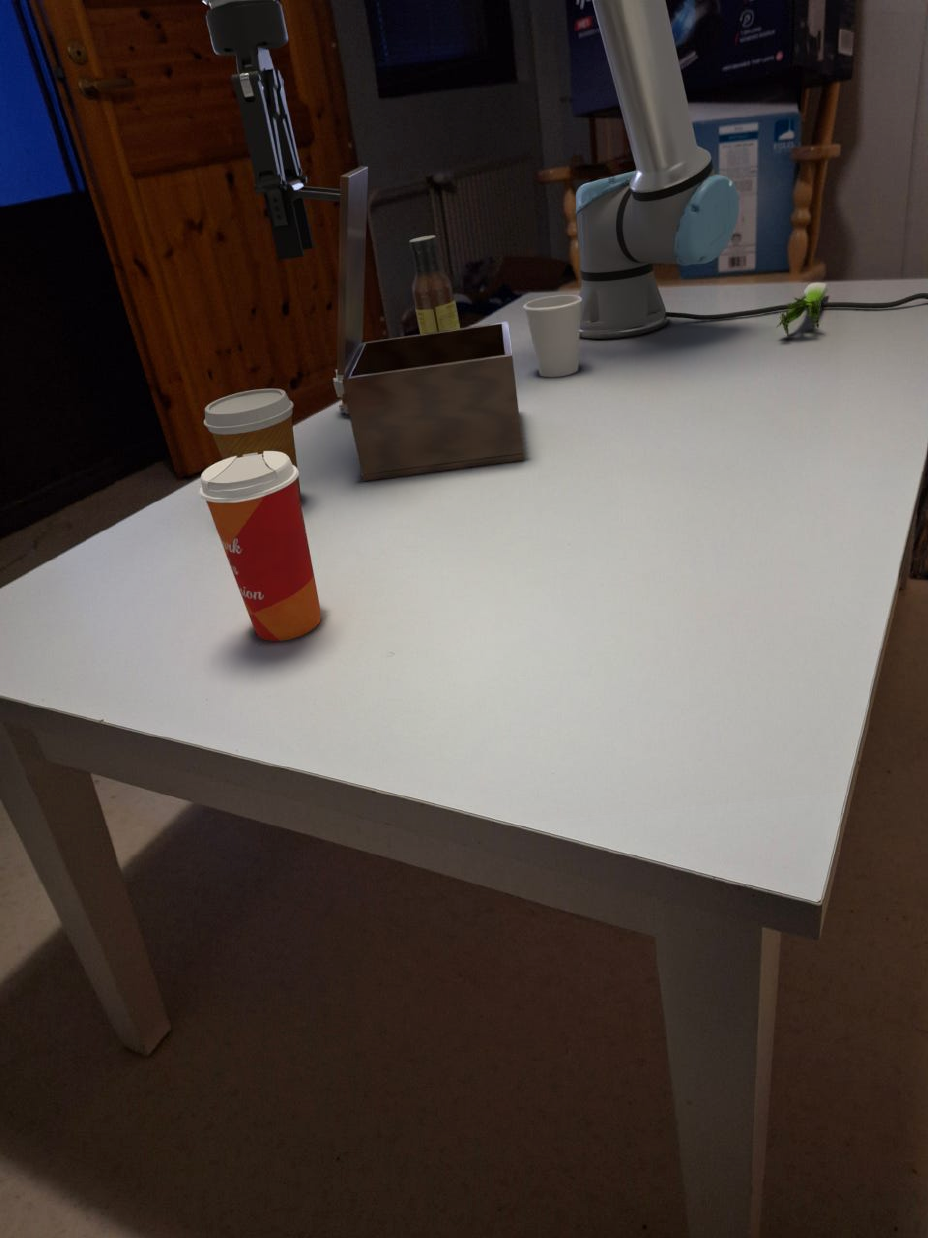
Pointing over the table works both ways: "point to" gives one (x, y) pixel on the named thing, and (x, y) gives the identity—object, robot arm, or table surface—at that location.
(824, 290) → the leek
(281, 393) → the disposable coffee cup
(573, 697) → the table surface
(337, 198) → the lid
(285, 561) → the paper cup
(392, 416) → the chest
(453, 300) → the sauce bottle
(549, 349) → the dixie cup
